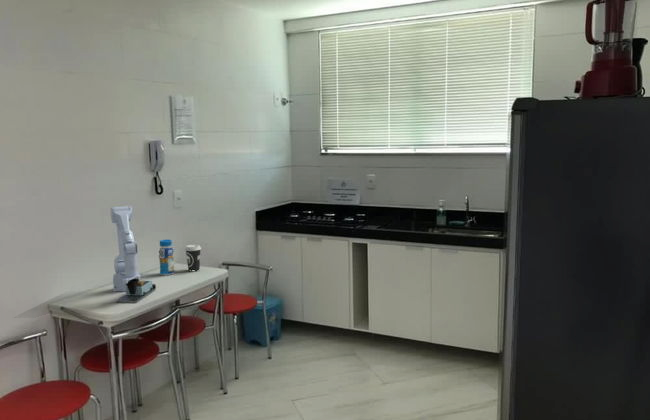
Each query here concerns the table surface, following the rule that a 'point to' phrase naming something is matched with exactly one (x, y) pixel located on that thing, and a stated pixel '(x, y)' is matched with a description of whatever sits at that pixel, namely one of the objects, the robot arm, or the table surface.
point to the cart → (141, 289)
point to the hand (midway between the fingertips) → (132, 293)
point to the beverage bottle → (166, 257)
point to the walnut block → (140, 283)
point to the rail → (135, 297)
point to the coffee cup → (193, 257)
